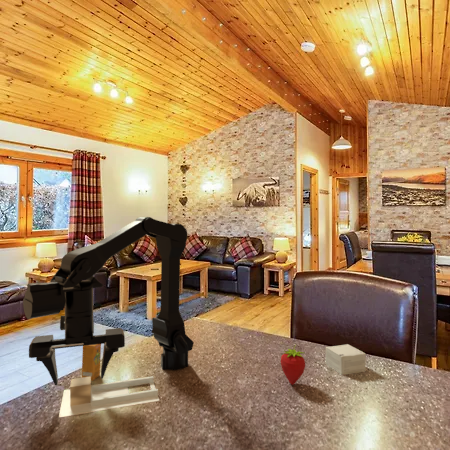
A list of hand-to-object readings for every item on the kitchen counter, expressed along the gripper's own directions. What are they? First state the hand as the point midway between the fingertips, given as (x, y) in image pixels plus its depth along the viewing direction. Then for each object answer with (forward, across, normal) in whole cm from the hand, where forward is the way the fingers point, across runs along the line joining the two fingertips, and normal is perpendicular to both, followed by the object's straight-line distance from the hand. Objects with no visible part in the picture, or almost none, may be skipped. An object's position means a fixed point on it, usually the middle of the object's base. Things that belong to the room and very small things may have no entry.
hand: (79, 381), depth 77 cm
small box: (+6, -68, +2) cm, 69 cm away
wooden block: (+4, 0, 0) cm, 4 cm away
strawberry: (+6, -49, +6) cm, 50 cm away
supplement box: (+6, -2, -11) cm, 13 cm away
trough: (+6, -6, 0) cm, 9 cm away
